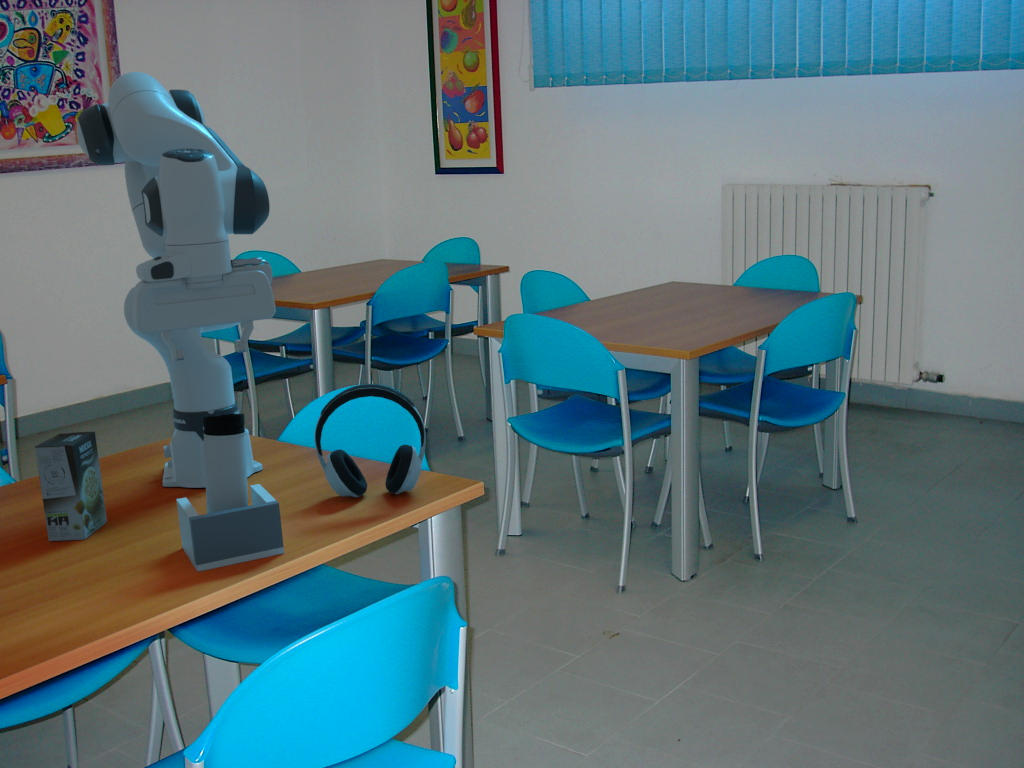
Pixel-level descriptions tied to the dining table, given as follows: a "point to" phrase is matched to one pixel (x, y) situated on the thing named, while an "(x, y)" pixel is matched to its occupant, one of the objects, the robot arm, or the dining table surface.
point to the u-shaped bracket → (231, 532)
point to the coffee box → (71, 486)
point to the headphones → (342, 466)
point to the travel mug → (225, 462)
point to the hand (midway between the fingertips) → (210, 355)
